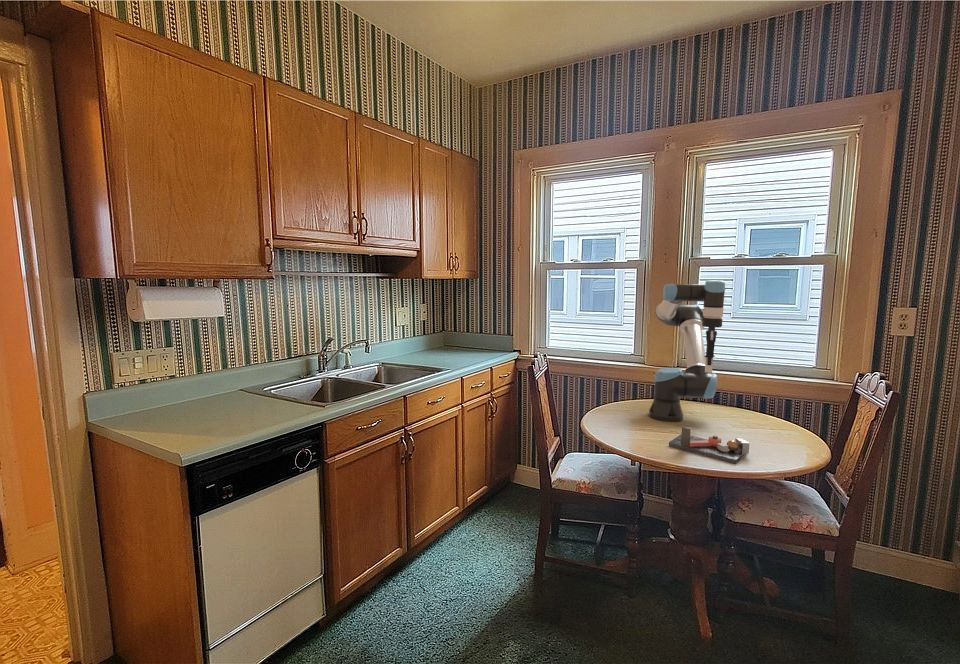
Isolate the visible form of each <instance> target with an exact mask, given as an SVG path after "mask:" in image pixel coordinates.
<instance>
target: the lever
mask: <svg viewBox="0 0 960 664" xmlns="http://www.w3.org/2000/svg"><path fill="white" fill-rule="evenodd" d="M680 433H681V434H680V435H681V446H683V447H694V446H713V447H717V448H718V449H719V450H721V451H728V445H726V444H727V443H725V442H722V438H720V437H719V436H717V435H712V436H709V437H708V440H703V441H690V435H691V436H692V428H691V427H689V426H682V427H681V432H680Z"/></svg>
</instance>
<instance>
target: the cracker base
mask: <svg viewBox="0 0 960 664" xmlns="http://www.w3.org/2000/svg"><path fill="white" fill-rule="evenodd" d="M703 440H709V438H708V439H707V438H703V437H699V436H695V435H692V434H691V435H690V441H703ZM725 444H726V445H728V451H721V450H719V449H718V448H717V447H713V446H694V447H683V446H681V434H679V435H678V436H676V437H674V438H672V439H671V440H670V441H669V442H668V446H669V447H671V448H674V449H679V450H682V451H686V452H690V453H693V454H697V455H700V456H704V457H708V458H712V459H715V460H719V461H723V462H726V463H730V464H733V465H737V464H738V462H739V461H741V460H742V458H744V457H745V456H746V455H747V454H749V451H750V442H749V441H747V440H745V439H743V437H740V438H739V437H736V438H735V439H734V440H733V439H731V440H728V441H727V442H726V443H725Z"/></svg>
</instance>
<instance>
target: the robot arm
mask: <svg viewBox="0 0 960 664" xmlns="http://www.w3.org/2000/svg"><path fill="white" fill-rule="evenodd" d="M725 293H726V282H725V281H724V280H714V279H713V280H709V279H708V280H706V281H705V282H704V284H696V283H694V284H690V283H683V284H682V283H666V284H664V285H663V290H662V298H663V299H662V302H660V303H659V304H658V305H656V309H655V317H656V319H657V320H658V321H659V322H661V324H663V325H666V326H667V327H668V326H669V327H679V330H680V332H681V333H683V340H684V341H683V342H684V348H685V349H684V351H685V359H686V366H687V367H685V370H684V371H683V369H682V368H679V367H666V368H660V369H658V370H656V372H655V374H654V387H653V389H654V390H653V391H654V392H653V400H652V402H651V405H650V408H649V410H648V416H649V417H650V418H651V419H654V420H657V421H661V422H665V423H666V422H668V423H676V422H677V423H678V422H682V421H683V420H684V412H683V408H682V405H681V397H682V398H692V399H694V398H695V399H696V398H697V399H713V398H714V396H715V394H716V391H717V385H718V375H717V374H716V373H713V367H714V366H713V363H714V358H715V354H714V353H715V343H716V340H717V335H718V331H717V330H716V328H722V327H723V318H722V317H724V309H725V308H724V303H725ZM682 302H703V305H702V304H696V303H693V304H683V303H682ZM704 328H708V329H707V330H705V340H706V350H705V345H704V344H705V343H704V335H703V330H704Z"/></svg>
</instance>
